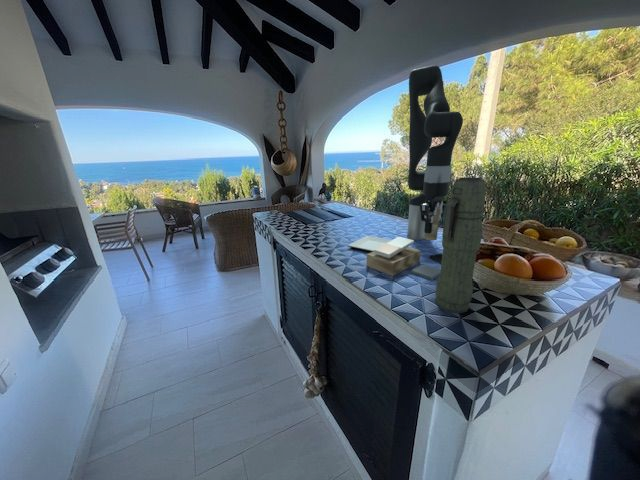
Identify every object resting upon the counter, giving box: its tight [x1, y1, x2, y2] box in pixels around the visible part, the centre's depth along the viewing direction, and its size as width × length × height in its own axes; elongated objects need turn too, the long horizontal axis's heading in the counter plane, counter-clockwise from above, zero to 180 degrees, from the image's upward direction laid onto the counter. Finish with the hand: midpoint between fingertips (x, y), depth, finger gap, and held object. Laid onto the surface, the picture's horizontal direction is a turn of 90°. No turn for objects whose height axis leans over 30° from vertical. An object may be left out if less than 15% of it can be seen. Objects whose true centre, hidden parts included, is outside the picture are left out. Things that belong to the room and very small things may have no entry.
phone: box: [429, 252, 443, 265], centre depth 100 cm, size 8×1×15 cm
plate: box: [347, 235, 393, 253], centre depth 120 cm, size 19×19×2 cm
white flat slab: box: [374, 236, 415, 258], centre depth 98 cm, size 16×7×1 cm, turn 130°
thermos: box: [434, 177, 487, 314], centre depth 67 cm, size 9×12×35 cm
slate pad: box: [410, 264, 441, 281], centre depth 92 cm, size 8×8×1 cm
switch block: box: [366, 246, 421, 277], centre depth 100 cm, size 18×12×6 cm, turn 130°
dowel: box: [424, 204, 441, 241], centre depth 86 cm, size 4×4×12 cm
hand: (431, 231), depth 87 cm, fingers closed on dowel, 4 cm apart
